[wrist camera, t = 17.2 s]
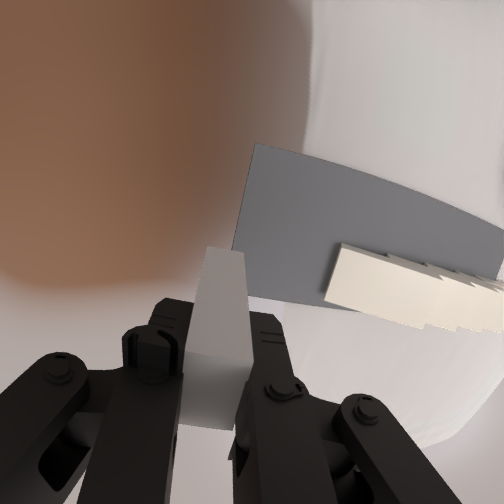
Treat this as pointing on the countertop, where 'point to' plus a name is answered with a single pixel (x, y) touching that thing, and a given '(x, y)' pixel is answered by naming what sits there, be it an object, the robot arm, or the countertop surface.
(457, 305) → the domino
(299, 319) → the countertop surface
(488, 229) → the mat
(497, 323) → the domino
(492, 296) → the domino
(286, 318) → the countertop surface
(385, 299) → the domino
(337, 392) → the countertop surface
